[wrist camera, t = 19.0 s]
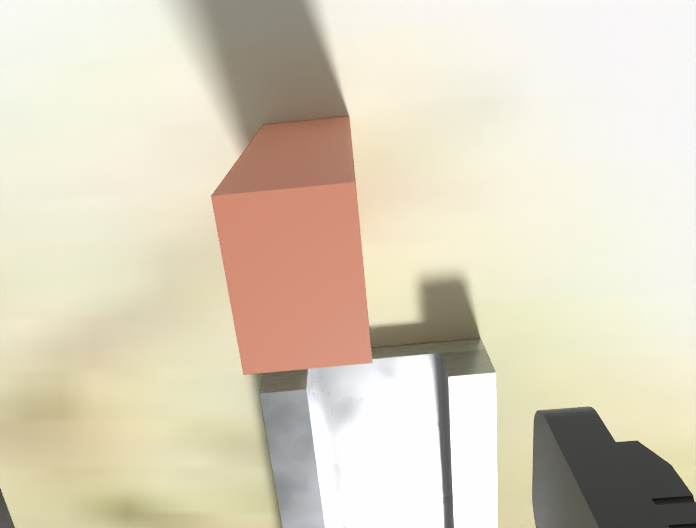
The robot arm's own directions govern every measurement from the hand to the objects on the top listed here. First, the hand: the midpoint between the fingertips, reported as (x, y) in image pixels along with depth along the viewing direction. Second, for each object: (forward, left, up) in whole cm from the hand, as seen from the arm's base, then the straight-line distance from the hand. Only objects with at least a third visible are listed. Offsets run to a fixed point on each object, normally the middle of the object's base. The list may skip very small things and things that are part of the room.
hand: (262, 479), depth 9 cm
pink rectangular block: (0, 0, -18) cm, 18 cm away
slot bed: (-2, +16, -18) cm, 24 cm away
